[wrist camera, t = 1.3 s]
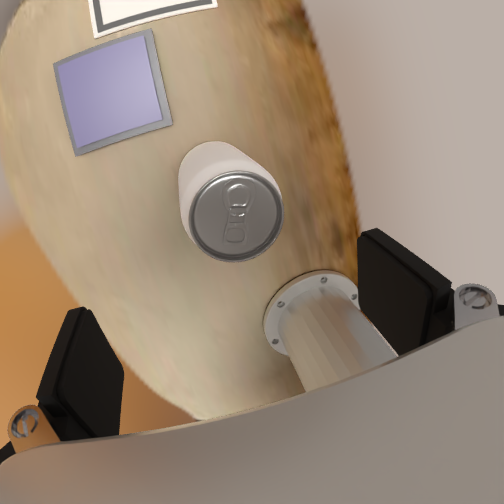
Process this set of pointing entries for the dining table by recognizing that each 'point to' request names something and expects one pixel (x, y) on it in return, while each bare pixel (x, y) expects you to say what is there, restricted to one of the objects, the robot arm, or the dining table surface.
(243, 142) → the dining table surface
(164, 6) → the marked card
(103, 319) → the dining table surface
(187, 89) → the dining table surface
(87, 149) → the ink pad
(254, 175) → the can
